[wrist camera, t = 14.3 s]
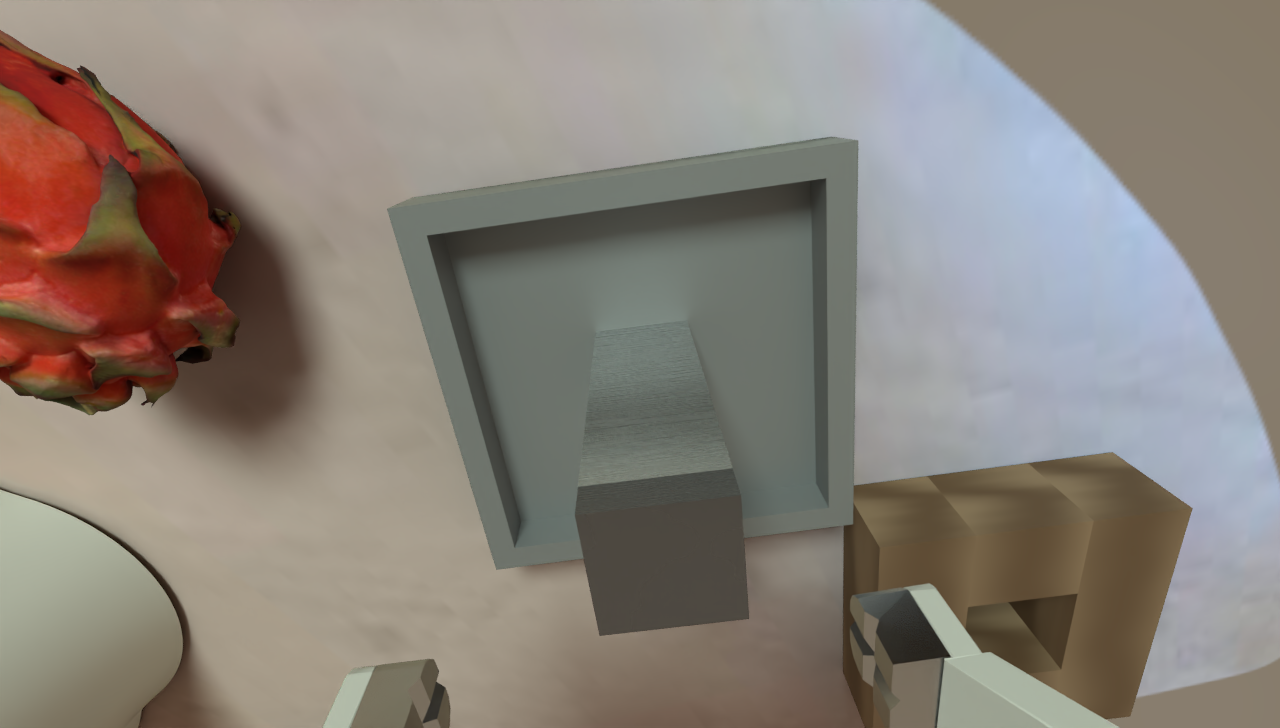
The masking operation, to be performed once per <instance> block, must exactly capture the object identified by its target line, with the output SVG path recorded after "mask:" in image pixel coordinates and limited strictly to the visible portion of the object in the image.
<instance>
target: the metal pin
mask: <svg viewBox="0 0 1280 728" xmlns="http://www.w3.org/2000/svg"><path fill="white" fill-rule="evenodd" d="M575 519H576V524H577V529H578V533H579V538H580V543H581V548H582V553H583V558H584V562H585V567H586V572H587V577H588V582H589V587H590V591H591V596H592V601H593V606H594V611H595V616H596V620H597V625H598V630H599V635H600V636H602V635H611V634H620V633H629V632H637V631H646V630H655V629H664V628H672V627H681V626H690V625H699V624H707V623H716V622H725V621H734V620H743V619H749V610H748V594H747V579H746V563H745V548H744V533H743V517H742V502H741V493H740V490H739V487H738V484H737V480H736V477H735V474H734V471H733V467H732V464H731V461H730V458H729V455H728V451H727V448H726V445H725V442H724V438H723V435H722V432H721V429H720V425H719V422H718V419H717V416H716V412H715V409H714V406H713V403H712V399H711V396H710V393H709V390H708V387H707V383H706V380H705V377H704V374H703V370H702V367H701V364H700V361H699V357H698V354H697V351H696V348H695V344H694V341H693V338H692V335H691V331H690V328H689V325H688V322H687V320H684V321H676V322H668V323H660V324H653V325H645V326H637V327H629V328H621V329H613V330H605V331H597V332H596V334H595V343H594V351H593V360H592V369H591V377H590V386H589V395H588V404H587V412H586V421H585V430H584V438H583V447H582V456H581V465H580V473H579V482H578V491H577V499H576V508H575Z"/></svg>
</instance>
